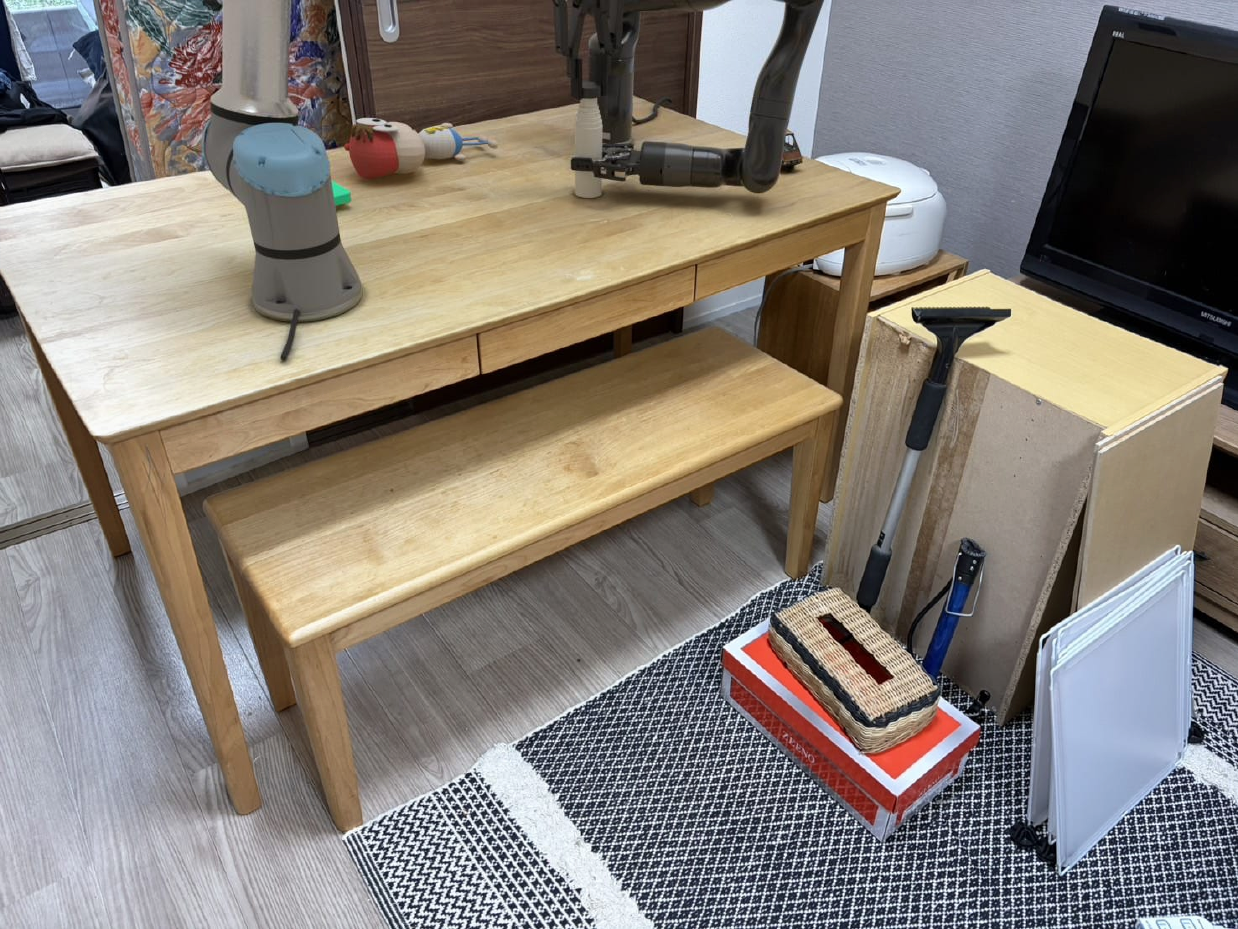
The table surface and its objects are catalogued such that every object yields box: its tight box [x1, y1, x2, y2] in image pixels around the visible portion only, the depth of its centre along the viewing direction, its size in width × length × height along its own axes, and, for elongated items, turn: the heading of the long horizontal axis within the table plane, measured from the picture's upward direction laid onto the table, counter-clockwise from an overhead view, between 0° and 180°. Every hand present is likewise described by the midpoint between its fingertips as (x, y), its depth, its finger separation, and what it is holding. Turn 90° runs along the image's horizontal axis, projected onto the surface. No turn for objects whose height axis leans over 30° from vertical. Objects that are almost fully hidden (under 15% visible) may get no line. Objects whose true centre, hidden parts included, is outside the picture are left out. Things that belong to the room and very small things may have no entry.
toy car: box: [781, 128, 804, 172], centre depth 184 cm, size 6×12×7 cm, turn 39°
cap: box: [582, 81, 601, 99], centre depth 160 cm, size 4×4×2 cm
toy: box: [343, 117, 499, 180], centre depth 179 cm, size 18×10×30 cm
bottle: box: [574, 98, 603, 199], centre depth 166 cm, size 5×5×18 cm
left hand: (588, 95), depth 161 cm, fingers closed on cap, 4 cm apart
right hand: (574, 158), depth 168 cm, fingers closed on bottle, 5 cm apart
